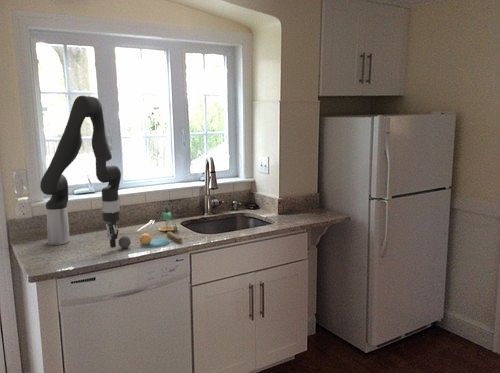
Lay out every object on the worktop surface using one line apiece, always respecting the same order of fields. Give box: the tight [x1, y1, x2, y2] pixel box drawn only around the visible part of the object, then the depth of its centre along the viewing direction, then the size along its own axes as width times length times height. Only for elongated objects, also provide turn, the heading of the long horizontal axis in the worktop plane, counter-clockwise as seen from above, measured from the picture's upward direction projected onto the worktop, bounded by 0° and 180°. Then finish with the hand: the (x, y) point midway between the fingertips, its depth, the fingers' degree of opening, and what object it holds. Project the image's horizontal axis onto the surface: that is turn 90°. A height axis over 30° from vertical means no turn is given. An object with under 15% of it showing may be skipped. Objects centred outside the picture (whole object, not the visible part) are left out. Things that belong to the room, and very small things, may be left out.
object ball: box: [139, 232, 152, 245], centre depth 209 cm, size 6×6×6 cm
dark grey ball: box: [118, 235, 132, 249], centre depth 205 cm, size 6×6×6 cm
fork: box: [136, 219, 155, 232], centre depth 243 cm, size 3×20×2 cm, turn 169°
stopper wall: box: [166, 231, 183, 245], centre depth 217 cm, size 2×14×2 cm, turn 32°
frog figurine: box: [158, 205, 180, 235], centre depth 235 cm, size 10×18×15 cm, turn 30°
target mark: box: [139, 238, 171, 249], centre depth 212 cm, size 14×14×1 cm
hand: (113, 247), depth 202 cm, fingers closed
